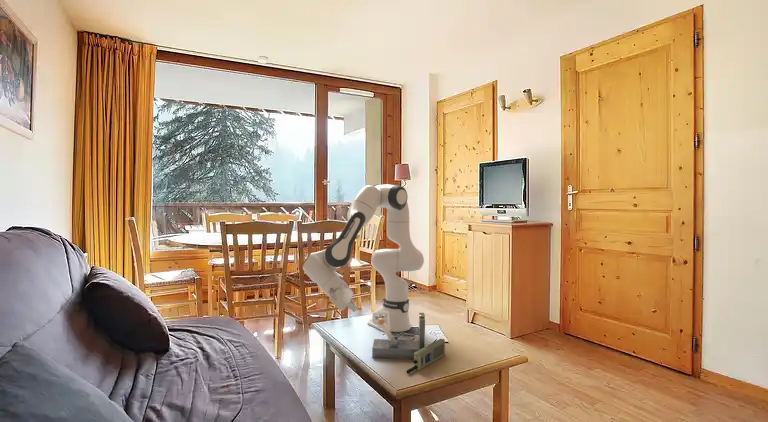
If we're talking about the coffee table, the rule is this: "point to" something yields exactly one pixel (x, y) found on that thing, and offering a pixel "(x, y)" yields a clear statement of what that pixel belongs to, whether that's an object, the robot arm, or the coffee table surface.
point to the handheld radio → (428, 355)
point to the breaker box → (400, 345)
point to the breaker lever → (386, 329)
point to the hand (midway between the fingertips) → (356, 310)
